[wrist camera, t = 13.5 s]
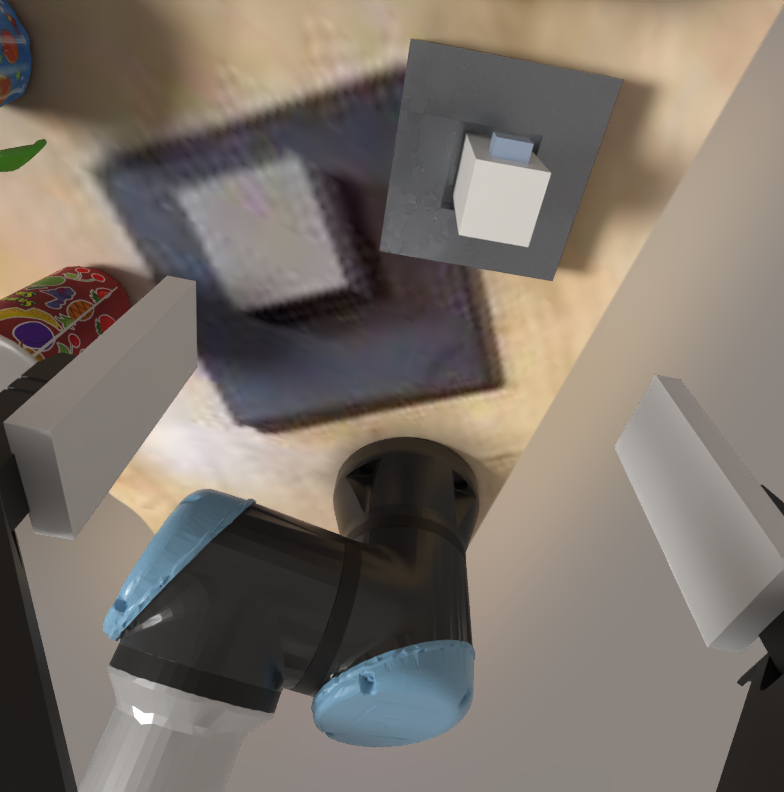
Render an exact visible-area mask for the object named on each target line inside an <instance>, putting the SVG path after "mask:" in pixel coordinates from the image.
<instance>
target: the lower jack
mask: <svg viewBox="0 0 784 792" xmlns="http://www.w3.org/2000/svg"><path fill="white" fill-rule="evenodd" d="M622 82H623V79H619V78H614V77H609V76H604V75H599V74H594V73H589V72H583V71H578V70H573V69H568V68H563V67H557V66H552V65H547V64H542V63H536V62H531V61H526V60H521V59H516V58H510V57H505V56H500V55H495V54H490V53H484V52H479V51H474V50H469V49H463V48H458V47H453V46H448V45H443V44H437V43H432V42H427V41H422V40H417V39H411V41H410V47H409V54H408V61H407V68H406V74H405V81H404V88H403V95H402V102H401V108H400V115H399V122H398V129H397V136H396V142H395V149H394V156H393V163H392V170H391V176H390V183H389V190H388V197H387V203H386V210H385V217H384V224H383V231H382V237H381V244H380V251H383V252H389V253H395V254H400V255H406V256H412V257H417V258H423V259H429V260H435V261H440V262H446V263H452V264H457V265H463V266H469V267H474V268H480V269H486V270H492V271H497V272H503V273H509V274H514V275H520V276H526V277H532V278H537V279H543V280H549V281H553V278H554V275H555V273H556V270H557V267H558V264H559V261H560V258H561V255H562V253H563V250H564V247H565V244H566V241H567V238H568V236H569V233H570V230H571V227H572V224H573V221H574V218H575V216H576V213H577V210H578V207H579V204H580V201H581V199H582V196H583V193H584V190H585V187H586V184H587V181H588V179H589V176H590V173H591V170H592V167H593V164H594V162H595V159H596V156H597V153H598V150H599V147H600V144H601V142H602V139H603V136H604V133H605V130H606V127H607V125H608V122H609V119H610V116H611V113H612V110H613V107H614V105H615V102H616V99H617V96H618V93H619V90H620V88H621V85H622ZM465 131H469V132H474V133H480V134H485V135H491V136H492V135H493V132H499V133H504V134H509V135H515V136H520V137H526V138H529V139H530V140H531V141H532V143H533V144H534V145H533V148H532V152H533V153H534V154H535V155H536V156H537V157H538V159H539V160H540V161H541V162H542V163H543V164H544V165H545V166H546V167H547V169H548V170H549V171H550V172H551V175H550V179H549V182H548V185H547V188H546V192H545V195H544V198H543V201H542V204H541V208H540V211H539V214H538V217H537V221H536V224H535V227H534V230H533V234H532V237H531V240H530V243H529V246H528V247H524V246H518V245H513V244H507V243H501V242H495V241H490V240H484V239H478V238H473V237H467V236H461V235H459V234H458V227H457V220H456V213H455V206H454V199H453V193H452V191H453V187H454V182H455V177H456V173H457V168H458V163H459V158H460V154H461V149H462V144H463V140H464V135H465Z"/></svg>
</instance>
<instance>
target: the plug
mask: <svg viewBox="0 0 784 792" xmlns="http://www.w3.org/2000/svg"><path fill="white" fill-rule="evenodd" d="M533 145H534V144H533V143H532V141H531V140H530V139H529V138H526V137H520V136H515V135H509V134H504V133H499V132H493V135H492V136H491V135H485V134H480V133H474V132H469V131H465V135H464V140H463V144H462V149H461V154H460V158H459V163H458V168H457V173H456V177H455V182H454V187H453V191H452V193H453V199H454V206H455V213H456V220H457V227H458V234H459V235H461V236H467V237H473V238H478V239H484V240H490V241H495V242H501V243H507V244H513V245H518V246H524V247H528V246H529V243H530V240H531V237H532V234H533V230H534V227H535V224H536V221H537V217H538V214H539V211H540V208H541V204H542V201H543V198H544V195H545V192H546V188H547V185H548V182H549V179H550V175H551V172H550V171H549V170H548V169H547V167H546V166H545V165H544V164H543V163H542V162H541V161H540V160H539V159H538V157H537V156H536V155H535V154H534V153H533V152H532V148H533Z"/></svg>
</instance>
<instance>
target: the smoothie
mask: <svg viewBox="0 0 784 792" xmlns="http://www.w3.org/2000/svg"><path fill="white" fill-rule="evenodd" d="M129 309H130V301H129V299H128V296H127V293H126V292H125V290H124V289H123V288H122V286H121V285H120V284H119V283H118V282H117V281H116V280H115V279H114V278H113V277H111V276H110V275H108V274H106V273H104V272H102V271H101V270H97V269H93V268H84V267H80V266H77V267H66V268H63V269H61V270H59V271H57V272H55V273H53V274H51V275H49V276H47V277H45V278H43V279H41V280H39V281H37V282H35V283H33V284H31V285H29V286H27V287H25V288H23V289H21V290H19V291H17V292H15V293H13V294H11V295H9V296H7V297H5V298H3V299H1V300H0V392H1V391H3V390H4V389H6V390H7V388H8V386H9V385H10V384H11V383H12V382H14V381H15V380H16V379H17V378H21V375H22V374H23V373H25V372H26V371H27V370H28V369H29V368H31V367H32V366H33V365H34V364H36V363H37V362H39V361H41V360H44V359H46V358H48V357H51V356H53V355H56V354H58V353H60V352H62V353H67V354H72V355H79V354H80V353H81V352H82V351H84V350H85V349H86V348H87V347H88V346H89V345H90V344H91V343H92V342H94V341H95V340H96V339H97V338H98V337H99V336H100V335H101V334H103V333H104V332H105V331H106V330H107V329H108V328H109V327H110V326H112V325H113V324H114V323H115V322H116V321H117V320H118V319H119V318H120V317H122V316H123V315H124V314H125V313H126V312H127V311H128V310H129Z"/></svg>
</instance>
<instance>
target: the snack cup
mask: <svg viewBox="0 0 784 792" xmlns="http://www.w3.org/2000/svg"><path fill="white" fill-rule="evenodd" d="M31 71H32V56H31V52H30V38H29V36H28V33H27V31H26V29H25V28H24V27H23V26H22V25H21V23H20V21H19V20H18V18H17V15H16V13H15V11H14V10H13V8H12V7H11V5H10V4H9V3H8V2H7V1H6V0H0V107H2V106H4V105H6V104H9V103H10V102H12V101H14V100H15V99H17V98H19V97H21V96H22V95H23V93H24V91H25V90H26V89H27V87H26V86H27V84H28V82H29V78H30V74H31ZM46 143H47V142H46V140H45V139H42V140H38V141H37V142H36V143H35V144H33V145H26V146H21V147H16V148H9V149H5V150H0V172H8V171H14V170H16V169H19V168H20V167H21V166H23V165H24V164H25V163H27V162H28V161H29V160H30V159H31V158H33V157H34V156H35V155H36V154H37V153H38V152H39V151H40V150H41V149H42V148H43V147H44V146H45V145H46Z"/></svg>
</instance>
